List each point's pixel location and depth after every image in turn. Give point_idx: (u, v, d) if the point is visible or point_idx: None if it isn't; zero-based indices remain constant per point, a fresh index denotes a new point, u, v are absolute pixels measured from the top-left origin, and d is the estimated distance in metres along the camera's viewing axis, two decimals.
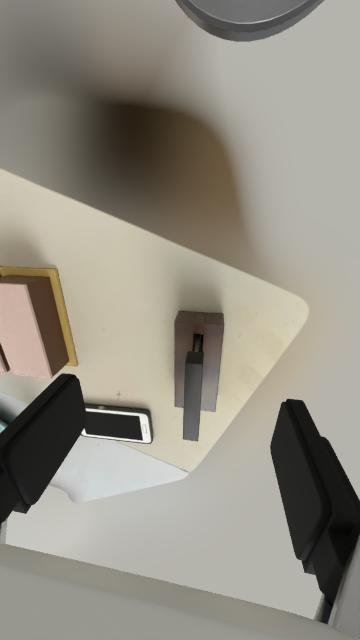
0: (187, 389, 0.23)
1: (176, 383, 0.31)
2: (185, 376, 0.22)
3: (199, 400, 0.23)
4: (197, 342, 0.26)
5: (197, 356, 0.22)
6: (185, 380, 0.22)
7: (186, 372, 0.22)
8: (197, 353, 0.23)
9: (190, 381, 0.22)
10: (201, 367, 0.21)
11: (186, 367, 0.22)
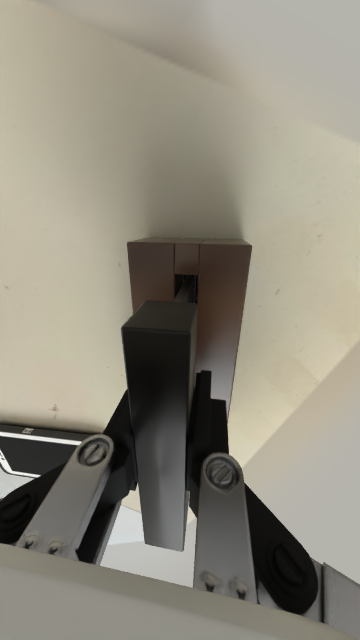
0: (140, 423, 0.07)
1: None
2: (129, 381, 0.06)
3: (183, 459, 0.07)
4: (182, 291, 0.10)
5: (174, 311, 0.06)
6: (131, 395, 0.06)
7: (131, 367, 0.06)
8: (176, 305, 0.07)
9: (149, 399, 0.06)
10: (185, 347, 0.05)
11: (128, 347, 0.06)
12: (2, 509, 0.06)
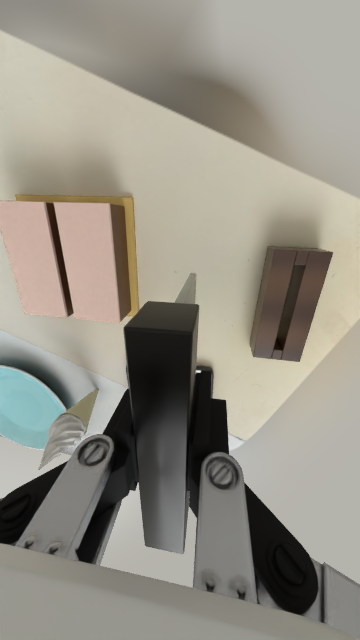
0: (142, 423, 0.07)
1: (261, 328, 0.28)
2: (131, 381, 0.06)
3: (183, 459, 0.07)
4: (183, 293, 0.10)
5: (175, 312, 0.06)
6: (133, 395, 0.06)
7: (133, 366, 0.06)
8: (177, 306, 0.07)
9: (151, 398, 0.06)
10: (187, 346, 0.05)
11: (131, 347, 0.06)
12: (2, 509, 0.06)
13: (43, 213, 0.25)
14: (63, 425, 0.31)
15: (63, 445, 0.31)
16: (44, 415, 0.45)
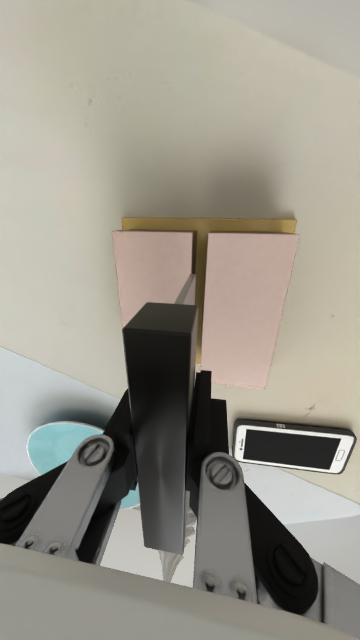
0: (141, 425, 0.07)
1: None
2: (130, 382, 0.06)
3: (182, 460, 0.07)
4: (182, 293, 0.10)
5: (174, 313, 0.06)
6: (132, 396, 0.06)
7: (132, 368, 0.06)
8: (176, 307, 0.07)
9: (150, 400, 0.06)
10: (186, 347, 0.05)
11: (129, 348, 0.06)
12: (2, 509, 0.06)
13: (188, 248, 0.17)
14: None
15: None
16: None
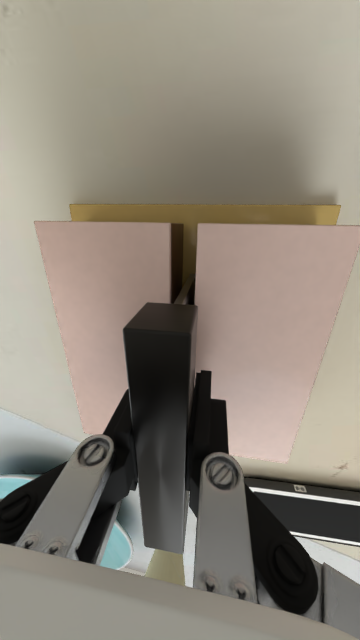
0: (141, 424, 0.07)
1: None
2: (130, 382, 0.06)
3: (183, 460, 0.07)
4: (182, 294, 0.10)
5: (174, 313, 0.07)
6: (132, 396, 0.06)
7: (132, 368, 0.06)
8: (176, 307, 0.07)
9: (150, 399, 0.06)
10: (186, 347, 0.05)
11: (130, 348, 0.06)
12: (2, 509, 0.06)
13: (163, 251, 0.10)
14: None
15: None
16: None
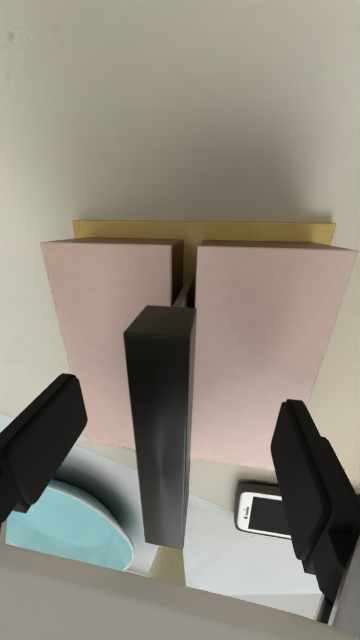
0: (141, 425, 0.07)
1: None
2: (131, 384, 0.06)
3: (182, 459, 0.07)
4: (182, 295, 0.10)
5: (174, 316, 0.07)
6: (132, 398, 0.07)
7: (132, 370, 0.06)
8: (175, 310, 0.07)
9: (150, 401, 0.06)
10: (185, 351, 0.06)
11: (130, 352, 0.06)
12: None
13: (164, 272, 0.10)
14: None
15: None
16: (90, 532, 0.31)
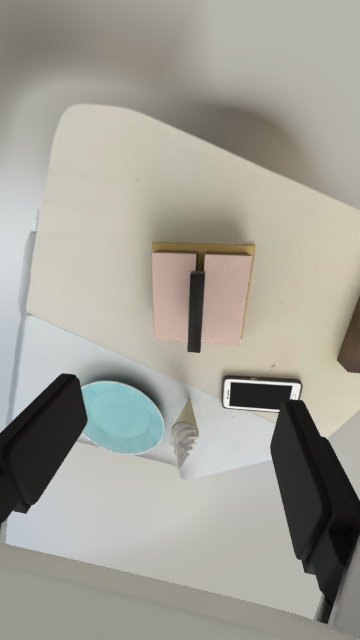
0: (191, 299, 0.28)
1: (358, 348, 0.34)
2: (190, 287, 0.27)
3: (201, 310, 0.28)
4: (199, 270, 0.31)
5: (200, 272, 0.27)
6: (190, 291, 0.27)
7: (191, 283, 0.27)
8: (200, 271, 0.28)
9: (194, 291, 0.27)
10: (203, 277, 0.26)
11: (191, 278, 0.27)
12: None
13: (193, 262, 0.31)
14: (186, 432, 0.37)
15: (189, 449, 0.36)
16: (136, 423, 0.51)
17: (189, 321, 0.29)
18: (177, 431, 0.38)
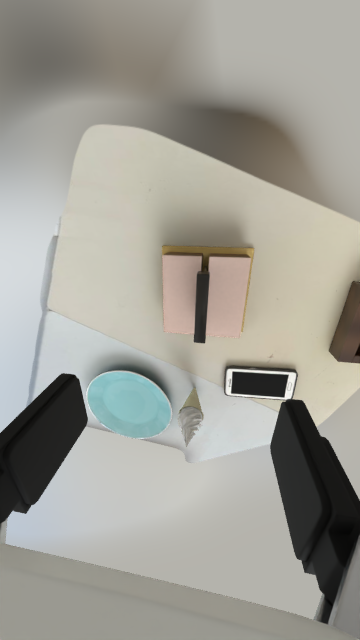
0: (198, 296, 0.32)
1: (347, 340, 0.38)
2: (197, 285, 0.31)
3: (206, 305, 0.32)
4: (204, 270, 0.35)
5: (205, 272, 0.31)
6: (196, 289, 0.31)
7: (197, 282, 0.31)
8: (205, 271, 0.32)
9: (200, 289, 0.31)
10: (208, 277, 0.30)
11: (197, 278, 0.31)
12: None
13: (199, 264, 0.35)
14: (192, 415, 0.42)
15: (194, 429, 0.41)
16: (145, 410, 0.55)
17: (195, 315, 0.33)
18: (184, 414, 0.42)
